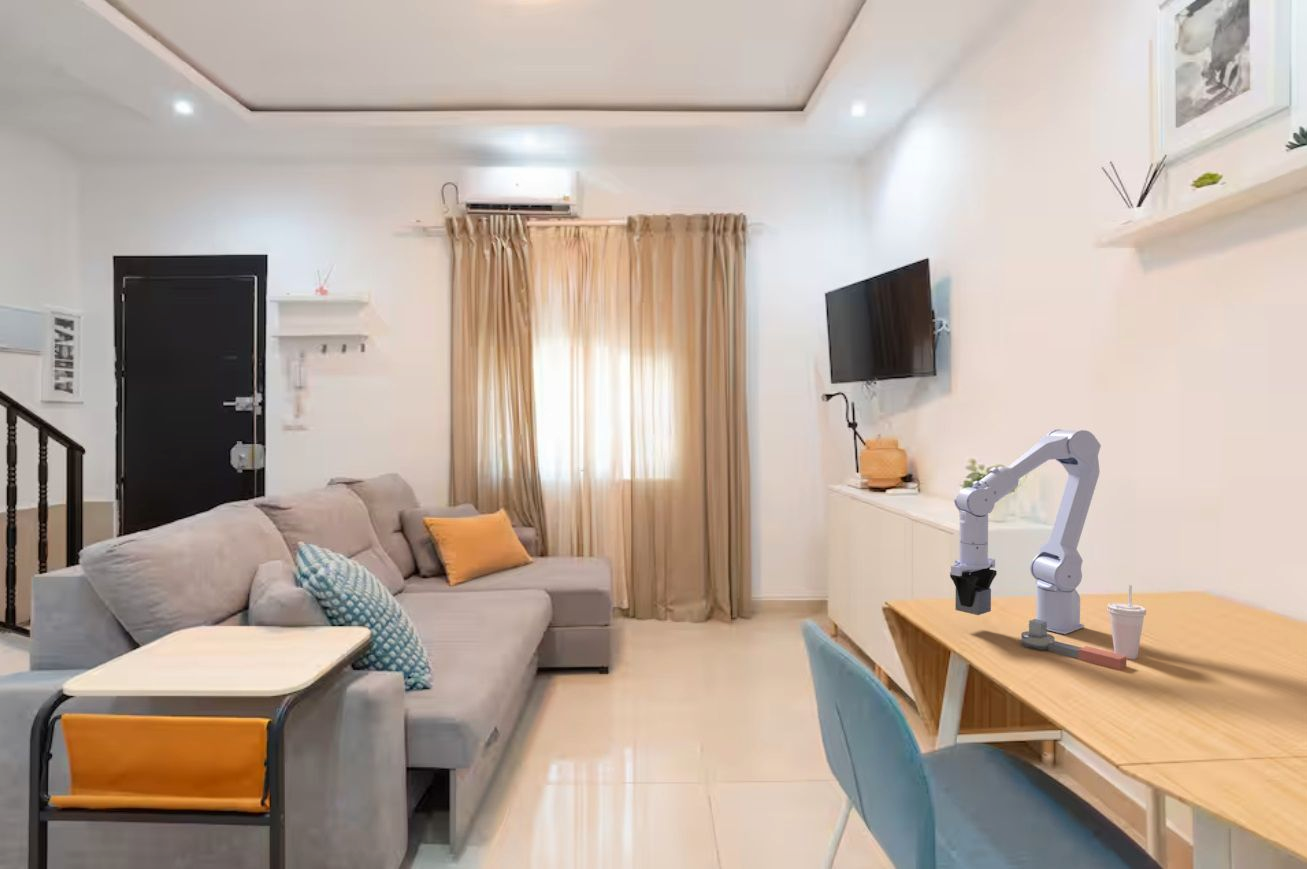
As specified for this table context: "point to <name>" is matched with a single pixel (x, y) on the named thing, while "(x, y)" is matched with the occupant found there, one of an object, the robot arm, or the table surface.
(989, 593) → the hollow square tube
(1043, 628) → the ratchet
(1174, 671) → the table surface
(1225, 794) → the table surface
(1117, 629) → the smoothie
